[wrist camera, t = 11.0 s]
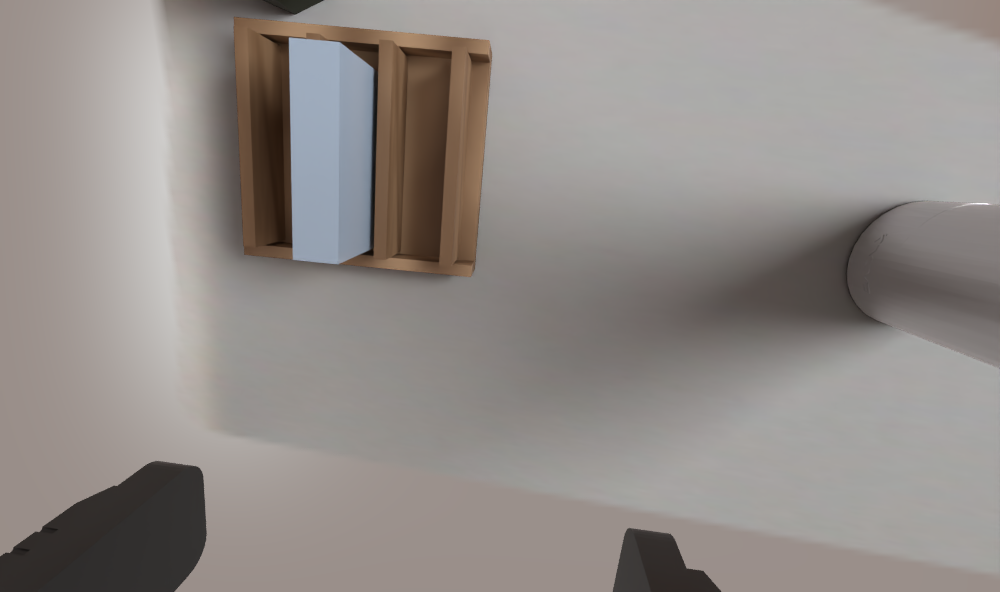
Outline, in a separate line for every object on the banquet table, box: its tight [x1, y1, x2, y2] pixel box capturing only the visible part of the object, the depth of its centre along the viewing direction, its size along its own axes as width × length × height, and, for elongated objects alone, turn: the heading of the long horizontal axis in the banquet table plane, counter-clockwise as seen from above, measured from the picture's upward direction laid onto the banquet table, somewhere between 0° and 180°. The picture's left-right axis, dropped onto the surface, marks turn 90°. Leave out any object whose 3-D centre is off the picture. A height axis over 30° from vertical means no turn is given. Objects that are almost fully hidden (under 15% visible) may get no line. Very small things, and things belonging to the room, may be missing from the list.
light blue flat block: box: [289, 37, 378, 264], centre depth 28 cm, size 2×11×9 cm, turn 175°
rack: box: [234, 17, 492, 277], centre depth 31 cm, size 16×15×5 cm
